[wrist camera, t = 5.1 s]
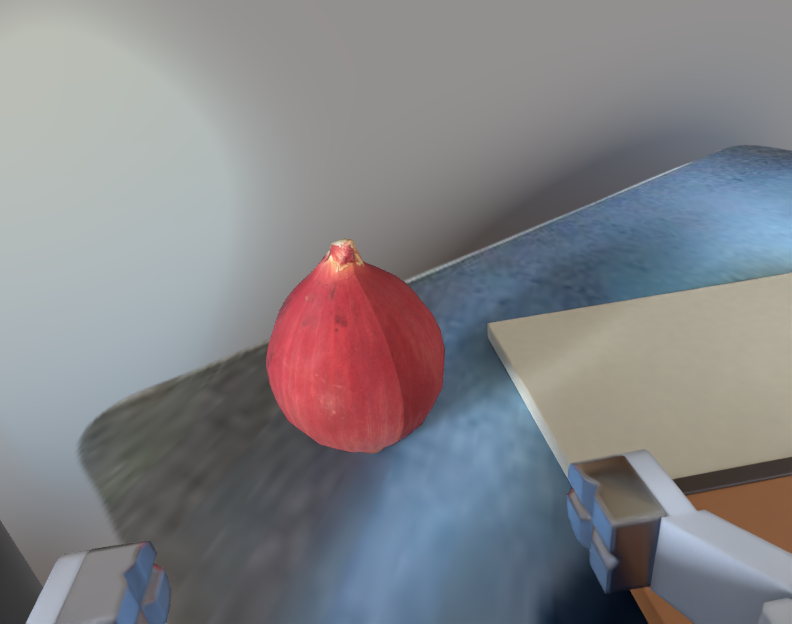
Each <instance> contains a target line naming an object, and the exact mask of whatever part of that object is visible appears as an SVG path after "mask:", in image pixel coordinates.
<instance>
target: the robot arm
mask: <svg viewBox="0 0 792 624" xmlns="http://www.w3.org/2000/svg"><path fill="white" fill-rule="evenodd" d="M568 479H569V481H570V483H571V485H572V487H573V488H572V489H571V490H570V491H569V493H568V494H567V510H568V515H569V520H570V523H571V526H572V529H573V532H574V534H575V536H576V538H577V540H578V542H579V543H580V544H581V545H583V546H584V547H586V548H587V549H589V550H590V560H589V563H590V565H591V567H592V569H593V571H594V573H595V575H596V577H597V579H598V581H599V583H600V584H601V586H602V588H603V590H604V592H605V594H608V593H614V592H620V591H626V590H632V589H638V588H644V587H650V589H651V590H652V591H653V592H654V593H656V594H657V595H658V596H660V597H661V598H662V599H663V600H665V601H666V602H667V603H669V604H670V605H671V606H672V607H674V608H675V609H676V610H678V611H679V612H680V613H681V614H683V615H684V616H685V617H687V618H688V619H689V620H690V621H692V622H693V623H694V624H792V554H791V553H789V552H787V551H785V550H783V549H781V548H779V547H777V546H775V545H773V544H771V543H769V542H767V541H765V540H764V539H762V538H760V537H758V536H756V535H754V534H752V533H750V532H748V531H746V530H744V529H742V528H740V527H738V526H736V525H734V524H732V523H730V522H728V521H726V520H724V519H722V518H720V517H718V516H716V515H714V514H712V513H710V512H709V511H707V510H700V511H697V510H696V509H695V507H694V506H693V505H692V504H691V502H690V501H689V500H688V499H687V497H686V496H685V495H684V494H683V493H682V491H681V490H680V489H679V488H678V486H677V485H676V484H675V483H674V481H673V480H672V479H671V478H670V476H669V475H668V474H667V473H666V471H665V470H664V469H663V468H662V466H661V465H660V464H659V463H658V461H657V460H656V459H655V458H654V457H653V455H652V454H651V453H650V452H649V451H647V450H645V449H642V450H637V451H631V452H626V453H621V454H619V455H618V454H615V455H610V456H605V457H600V458H594V459H589V460H584V461H579V462H574V463H570V466H569V468H568ZM156 555H157V552H156V550H155V548H154V546H153V545H152V543H151V541H140V542H134V543H127V544H121V545H114V546H108V547H102V548H95V549H92V550H86V551H79V552H73V553H66V554H64V555H63V556H62V557H61V558H60V559H59V560H57V562H56V564H55V566H54V568H53V570H52V572H51V574H50V576H49V578H48V580H47V582H46V584H45V586H44V588H43V590H42V592H41V594H40V596H39V598H38V600H37V602H36V604H35V606H34V608H33V610H32V612H31V614H30V616H29V618H28V620H27V622H26V624H165V623H166V622H167V618H168V614H169V609H170V596H171V589H170V584H169V579H168V576H167V574H166V571H165V569H164V568H162V567H160V566H158V565H156V564H154V561H155V558H156Z"/></svg>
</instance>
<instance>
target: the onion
mask: <svg viewBox="0 0 792 624" xmlns="http://www.w3.org/2000/svg"><path fill="white" fill-rule="evenodd" d="M444 355H445V349H444V344H443V339H442V335H441V330H440V328H439V326H438V324H437V322H436V320H435V318H434V316H433V314H432V313H431V312H430V311H429V309H428V308H427V307H426V306H425V305H424V303H423V302H422V301H421V300H420V298H419V297H418V296H417V294H416V293H415V292H414V291H413V290H412V289H411V288H410V287H409V286H408V285H407V284H406V283H405V282H404V281H402V280H401V279H399V278H398V277H397V276H395V275H393V274H391V273H389V272H386V271H384V270H382V269H380V268H378V267H375V266H373V265H370V264H367V263H365V262H364V261H363V260H362V258H361V256H360V255H359V253H358V251H357V249H356V248H355V246H354V242H353V240H350V239H342V240H340V241H336V242H333V243H332V244H331V247H330V250H329V252H328V253H327V254H326V255H325V256H324V258H323V259H322V260H321V262H320V263H319V264H318V266H317V267H316V268H315V269H314V270H313V271H312V272H311V273H310V274H309V275H308V276H307V277H306V278H305V279H303V280H302V281H301V283H299V284H298V285H297V286H296V288H294V289H293V291H292V292H291V293H290V295H289V296H288V297H287V299H286V300H285V302H284V303H283V305H282V307H281V309H280V310H279V313H278V316H277V319H276V322H275V325H274V329H273V332H272V335H271V338H270V342H269V345H268V351H267V358H266V366H267V372H268V378H269V383H270V385H271V388H272V391H273V393H274V396H275V398H276V401H277V404H278V405H279V407H280V408H281V410H282V412H283V413H284V415H285V416H286V418H287V420H288V421H289V422H290V423H292V424H293V425H294V426H296V427H297V428H299V429H300V430H301V431H303V432H304V433H305V434H307V435H308V436H309V437H311V438H312V439H313V440H315V441H316V442H317V443H319V444H320V445H324V446H328V447H332V448H336V449H339V450H343V451H348V452H365V453H377V452H380V451H381V450H383V449H384V448H386V447H388V446H391V445H393V444H395V443H396V442H398V441H400V440H401V439H403V438H404V437H406V436H408V435H409V434H410V433H412V432H413V431H414V430H415V429H416V428H418V427H419V426H420V425H421V424H422V423H423V421H424V420H425V418H426V417H427V415H428V413H429V412H430V410H431V409H432V407H433V405H434V403H435V401H436V399H437V397H438V395H439V393H440V392H441V390H442V386H443V372H444Z"/></svg>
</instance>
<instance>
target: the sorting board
mask: <svg viewBox="0 0 792 624" xmlns="http://www.w3.org/2000/svg"><path fill="white" fill-rule="evenodd" d="M487 332H488V338H489V340H490V342H491V344H492V345H493V347H494V349H495V351H496V353H497V354H498V356H499V358H500V360H501V361H502V363H503V365H504V367H505V369H506V370H507V372H508V374H509V376H510V377H511V379H512V381H513V383H514V384H515V386H516V388H517V390H518V392H519V393H520V395H521V397H522V399H523V400H524V402H525V404H526V406H527V408H528V409H529V411H530V413H531V415H532V416H533V418H534V420H535V422H536V424H537V425H538V427H539V429H540V431H541V432H542V434H543V436H544V438H545V440H546V441H547V443H548V445H549V447H550V448H551V450H552V452H553V454H554V455H555V457H556V459H557V461H558V463H559V464H560V466H561V468H562V470H563V471H564V473H565V475H566V477H567V479H568V468H569V466H570V463H574V462H579V461H584V460H589V459H594V458H600V457H605V456H610V455H615V454H618V455H619V454H621V453H626V452H631V451H637V450H642V449H645V450H647V451H649V452H650V453H651V454H652V455H653V457H654V458H655V459H656V460H657V461H658V463H659V464H660V465H661V466H662V468H663V469H664V470H665V471H666V473H667V474H668V475H669V476H670V478H671V479H672V480H673V481H674V483H675V484H676V485H677V486H678V488H679V489H680V490H681V491H682V493H683V494H684V495H685V496H686V497H687V499H688V500H689V501H690V502H691V504H692V505H693V506H694V507H695V509H696V510H697V511H700V510H707V511H709V512H710V513H712V514H714V515H716V516H718V517H720V518H722V519H724V520H726V521H728V522H730V523H732V524H734V525H736V526H738V527H740V528H742V529H744V530H746V531H748V532H750V533H752V534H754V535H756V536H758V537H760V538H762V539H764V540H765V541H767V542H769V543H771V544H773V545H775V546H777V547H779V548H781V549H783V550H785V551H787V552H789V553H791V554H792V273H787V274H781V275H775V276H769V277H763V278H757V279H751V280H745V281H739V282H733V283H727V284H721V285H715V286H709V287H703V288H697V289H691V290H685V291H679V292H673V293H667V294H661V295H655V296H649V297H643V298H637V299H631V300H625V301H619V302H613V303H607V304H601V305H595V306H589V307H583V308H577V309H571V310H565V311H559V312H553V313H547V314H541V315H535V316H529V317H523V318H517V319H511V320H505V321H499V322H493V323H488V324H487ZM568 480H569V479H568ZM569 482H570V481H569ZM570 484H571V483H570ZM571 486H572V485H571ZM630 591H631V593H632V595H633V597H634V598H635V600H636V602H637V604H638V605H639V607H640V609H641V611H642V613H643V614H644V616H645V618H646V620H647V621H648V623H649V624H694V623H693V622H692V621H690V620H689V619H688V618H687V617H685V616H684V615H683V614H681V613H680V612H679V611H678V610H676V609H675V608H674V607H672V606H671V605H670V604H669V603H667V602H666V601H665V600H663V599H662V598H661V597H660V596H658V595H657V594H656V593H654V592H653V591H652V590H651V589H650V587H644V588H638V589H632V590H630Z"/></svg>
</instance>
